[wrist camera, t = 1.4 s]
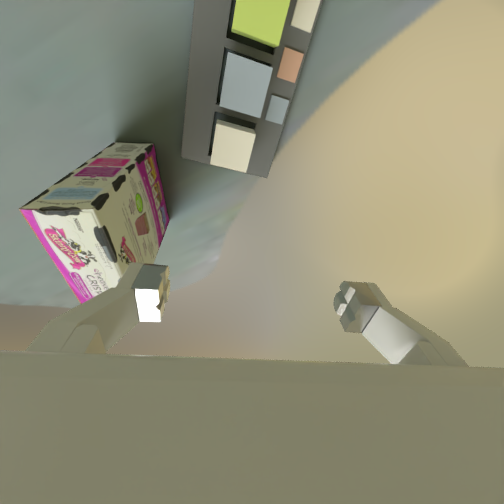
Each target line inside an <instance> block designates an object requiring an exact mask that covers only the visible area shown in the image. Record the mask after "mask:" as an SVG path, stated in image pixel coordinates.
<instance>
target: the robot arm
mask: <svg viewBox="0 0 504 504" xmlns="http://www.w3.org/2000/svg"><path fill="white" fill-rule="evenodd" d="M169 274H170V271H169V266H165V265H156V264H147V263H145V264H144V263H136V262H132V263H130V264H129V266H128V268H127V269H126V271H125V273H124V274H123V276H122V278H121V279H120V281H119V282H118V284H117V286H116V287H115V288H112V287H111V288H110V289H108V290H106V291H104V292H102V293H100V294H99V295H97V296H95V297H93V298H91V299H89V300H88V301H86V302H84V303H82V304H80V305H78V306H77V307H75V308H73V309H71V310H69V311H68V312H66V313H64V314H62V315H60V316H58V317H57V318H54V319H53V320H51V321H49V322H48V323H47V325H46V326H45V327H44V328H43V330H42V331H41V332H40V333H39V334H38V336H37V337H36V338H35V339H34V341H33V342H32V343H31V344H30V346H29V347H28V348H27V349H26V351H4V350H0V504H504V368H494V367H493V368H492V367H469V366H468V365H467V364H466V362H465V361H464V360H463V359H462V358H461V356H460V355H459V354H458V353H457V352H456V350H455V349H454V348H453V347H452V346H451V345H450V343H449V342H447V341H446V340H444V339H443V338H441V337H440V336H438V335H437V334H435V333H434V332H432V331H431V330H429V329H427V328H426V327H425V326H423V325H421V324H420V323H419V322H417V321H415V320H414V319H412V318H411V317H409V316H408V315H406V314H405V313H403V312H402V311H400V310H399V309H397V308H393V307H392V305H391V304H390V303H389V301H388V300H387V299H386V297H385V296H384V294H383V293H382V292H381V290H380V289H379V288H378V286H377V285H376V284H374V283H366V282H364V283H362V282H350V281H344V282H343V283H342V284H341V285H340V290H341V291H340V292H338V293H337V294H336V296H335V298H334V309H335V311H336V313H337V314H338V315H340V316H341V318H340V322H341V324H342V326H343V329H344V331H345V332H353V333H362V335H363V336H364V337H365V338H366V339H367V340H368V341H369V342H370V343H371V344H372V345H373V346H374V347H375V348H376V349H377V350H378V351H379V352H380V353H381V354H382V355H383V356H384V357H385V358H386V359H387V360H388V361H389V362H390V363H391V364H378V363H351V362H322V361H320V362H319V361H292V360H263V359H236V358H205V357H177V356H149V355H119V354H106V352H107V351H108V350H109V349H110V348H111V347H112V346H113V345H114V344H116V342H118V341H119V340H120V339H121V338H122V337H123V336H125V334H127V333H128V332H129V331H130V330H131V329H132V328H133V327H134V326H136V325H137V324H138V323H139V321H149V322H161V319H162V316H163V313H164V310H165V307H164V304H165V303H166V302H167V300H168V297H169V292H170V280H169V279H168V276H169Z"/></svg>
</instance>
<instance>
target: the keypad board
mask: <svg viewBox="0 0 504 504" xmlns="http://www.w3.org/2000/svg"><path fill="white" fill-rule="evenodd" d="M231 2H232V0H194V11H193V23H192V34H191V46H190V58H189V69H188V81H187V92H186V104H185V116H184V127H183V139H182V150H181V158H185V159H189V160H193V161H197V162H202V163H206V164H210V161H211V155H212V153H209V146H210V140H211V133H212V127H213V120H214V113H215V112H219V113H222V114H226V115H229V116H232V117H236V118H239V119H243V120H246V121H250V122H253V123H255V126H254V131H255V134H256V136H255V140H254V144H253V148H252V152H251V156H250V160H249V164H248V167H247V171H246V173H248V174H252V175H256V176H260V177H264V178H267V177H268V174H269V171H270V167H271V164H272V161H273V158H274V155H275V152H276V148H277V145H278V142H279V139H280V136H281V133H282V129H283V126H284V123H285V120H286V117H287V113H288V110H289V107H290V104H291V101H292V98H293V94H294V91H295V88H296V85H297V82H298V79H299V75H300V72H301V69H302V66H303V63H304V60H305V56H306V53H307V50H308V47H309V44H310V40H311V37H312V34H313V31H314V28H315V25H316V21H317V18H318V15H319V12H320V9H321V6H322V2H323V0H290V4H289V8H288V12H287V16H286V19H285V23H284V27H283V31H282V35H281V39H280V43H279V46H277V47H274V50H273V54H269V53H266V52H264V51H261V50H258V49H256V48H253V47H250V46H247V45H245V44H242V43H239V42H237V41H234V40H231V39H228V38H226V35H227V28H228V22H229V15H230V9H231ZM224 48H226V49H229V50H232V51H235V52H238V53H240V54H243V55H246V56H249V57H252V58H254V59H257V60H260V61H263V62H266V63H268V64H270V66H269V67H272V68H273V70H272V74H271V78H270V82H269V86H268V90H267V93H266V97H265V101H264V105H263V109H262V113H261V117H260V118H258V117H254V116H251V115H247V114H244V113H241V112H237V111H234V110H231V109H227V108H224V107H221V106H219V105H220V104H219V103H216V100H217V94H218V87H219V81H220V74H221V68H222V61H223V54H224ZM210 165H211V164H210ZM214 166H215V165H214ZM218 167H220V166H218ZM222 168H224V167H222ZM227 169H228V168H227ZM231 170H232V169H231ZM235 171H236V170H235ZM239 172H240V171H239ZM243 173H245V172H243Z"/></svg>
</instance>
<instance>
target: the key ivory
mask: <svg viewBox="0 0 504 504" xmlns="http://www.w3.org/2000/svg"><path fill="white" fill-rule="evenodd" d="M255 136H256V134H255V131H254V129H251V128H247V127H244V126H240V125H237V124H233V123H230V122H226V121H223V120H219V119H217V124H216V130H215V136H214V142H213V148H212V155H211V161H210V164H211V165H215V166H220V167H224V168H228V169H232V170H236V171H240V172H245V173H246V171H247V167H248V164H249V160H250V156H251V152H252V148H253V144H254V140H255Z"/></svg>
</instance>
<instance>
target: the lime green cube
mask: <svg viewBox="0 0 504 504" xmlns="http://www.w3.org/2000/svg"><path fill="white" fill-rule="evenodd" d="M289 4H290V0H236V5H235V11H234V18H233V24H232V30H231V32H234V33H236V34H239V35H242V36H244V37H247V38H250V39H252V40H255V41H257V42H260V43H263V44H265V45H268V46H271V47H273V48H274V47H277V46H279V43H280V39H281V35H282V31H283V27H284V23H285V19H286V16H287V12H288V8H289Z"/></svg>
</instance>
